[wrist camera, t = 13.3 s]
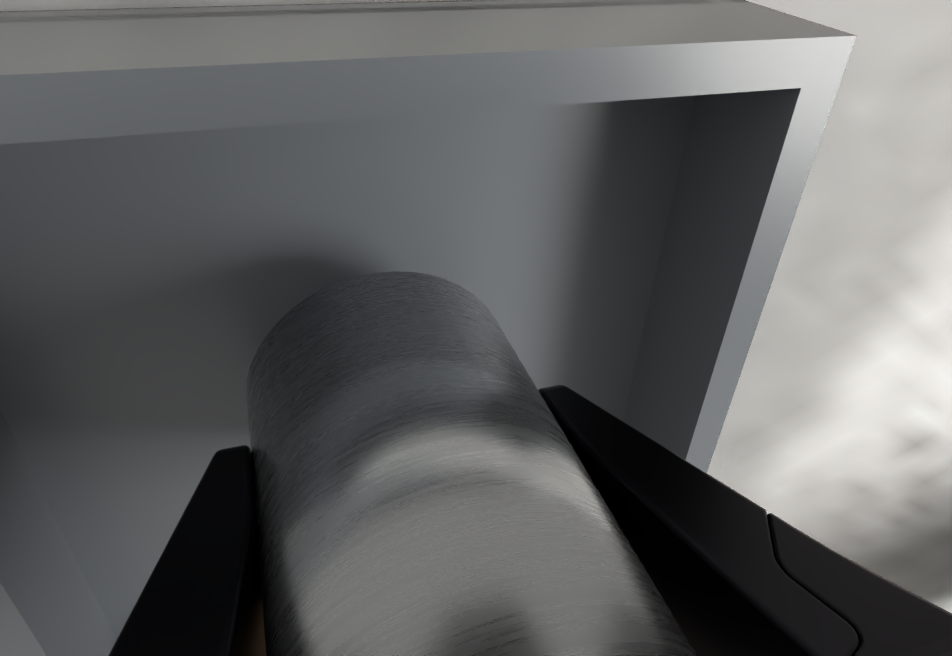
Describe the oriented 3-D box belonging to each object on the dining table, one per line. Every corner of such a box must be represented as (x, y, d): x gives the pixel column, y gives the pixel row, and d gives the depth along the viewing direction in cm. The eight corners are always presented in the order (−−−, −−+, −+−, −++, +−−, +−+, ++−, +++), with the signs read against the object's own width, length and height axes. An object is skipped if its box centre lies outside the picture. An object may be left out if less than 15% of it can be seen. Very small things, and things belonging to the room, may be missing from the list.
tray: (572, 666, 22) (610, 753, 20) (179, 792, 19) (177, 911, 17) (726, -5, 10) (856, 34, 8) (-237, 17, 7) (-414, 95, 5)
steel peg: (513, 254, 10) (788, 629, 5) (498, 450, 12) (678, 827, 8) (222, 293, 9) (245, 810, 4) (267, 499, 11) (314, 976, 6)
